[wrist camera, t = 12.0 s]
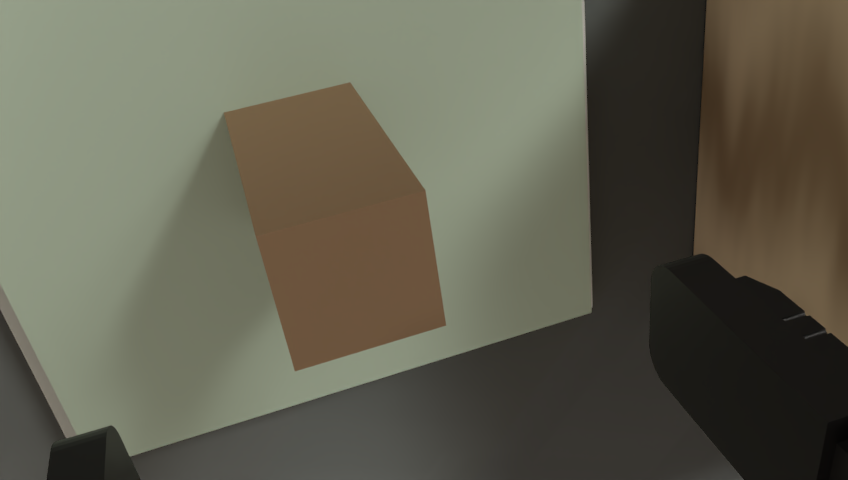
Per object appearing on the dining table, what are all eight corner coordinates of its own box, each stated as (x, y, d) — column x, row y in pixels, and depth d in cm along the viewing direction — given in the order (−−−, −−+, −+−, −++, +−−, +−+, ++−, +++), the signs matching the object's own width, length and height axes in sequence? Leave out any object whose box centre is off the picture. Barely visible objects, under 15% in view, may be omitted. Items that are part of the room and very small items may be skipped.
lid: (-190, -125, 15) (-388, -65, 9) (557, -253, 18) (754, -266, 12) (95, 447, 23) (81, 668, 17) (579, 298, 26) (705, 446, 20)
